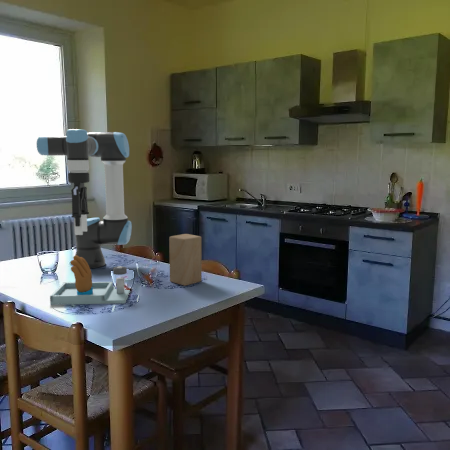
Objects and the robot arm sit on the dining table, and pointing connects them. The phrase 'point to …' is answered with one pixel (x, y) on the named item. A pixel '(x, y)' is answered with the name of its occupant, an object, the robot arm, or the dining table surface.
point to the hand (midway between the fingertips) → (81, 232)
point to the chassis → (100, 295)
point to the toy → (82, 276)
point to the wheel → (119, 270)
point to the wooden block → (185, 259)
